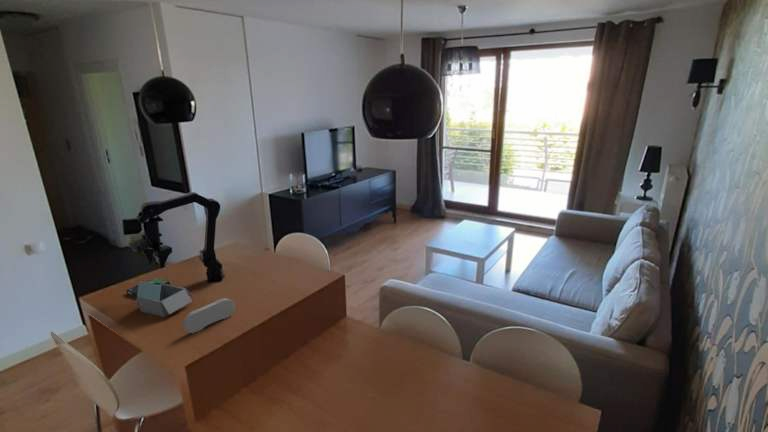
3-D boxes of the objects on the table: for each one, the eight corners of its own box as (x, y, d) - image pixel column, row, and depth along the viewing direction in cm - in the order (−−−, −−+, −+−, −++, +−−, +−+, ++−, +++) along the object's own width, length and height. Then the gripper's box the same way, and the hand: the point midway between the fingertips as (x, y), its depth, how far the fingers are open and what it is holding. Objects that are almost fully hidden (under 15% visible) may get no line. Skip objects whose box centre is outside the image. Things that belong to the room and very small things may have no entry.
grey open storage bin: (167, 293, 177) (164, 279, 175) (200, 301, 169) (197, 286, 167) (135, 310, 164) (131, 295, 161) (169, 319, 155) (165, 303, 153)
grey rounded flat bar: (233, 312, 158) (230, 294, 156) (236, 314, 157) (233, 295, 155) (184, 335, 144) (180, 315, 142) (187, 337, 143) (183, 317, 140)
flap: (139, 281, 160) (138, 281, 160) (161, 285, 155) (160, 285, 155) (138, 295, 160) (137, 295, 160) (159, 300, 155) (158, 300, 155)
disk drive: (139, 300, 173) (171, 285, 185) (138, 294, 172) (169, 280, 185) (126, 295, 178) (158, 281, 190) (125, 290, 177) (157, 276, 190)
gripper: (120, 232, 166) (125, 266, 170) (144, 240, 157) (148, 276, 160) (147, 226, 175) (151, 259, 179) (171, 233, 166) (175, 268, 170)
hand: (155, 265), depth 172 cm, fingers open, 9 cm apart
